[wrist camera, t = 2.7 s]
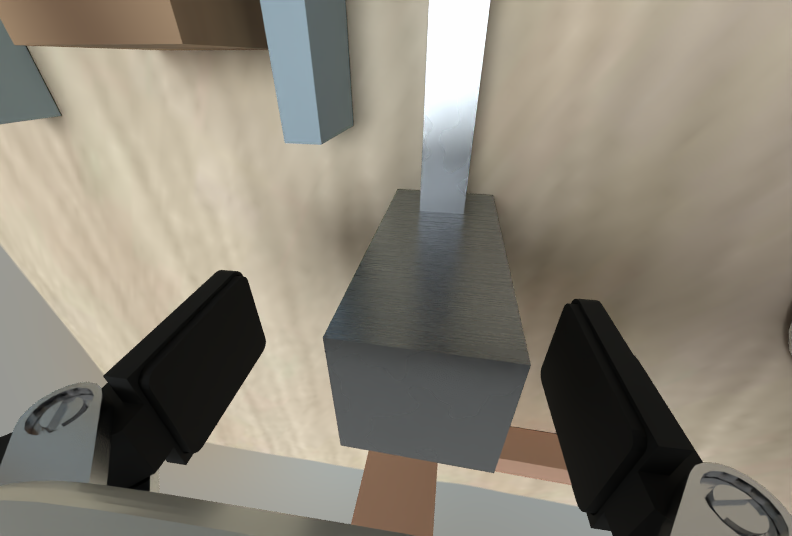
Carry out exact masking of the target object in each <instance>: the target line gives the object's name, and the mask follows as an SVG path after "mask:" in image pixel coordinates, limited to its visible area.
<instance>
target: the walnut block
mask: <svg viewBox="0 0 792 536" xmlns="http://www.w3.org/2000/svg"><path fill="white" fill-rule="evenodd" d="M0 19H1V21H2V23H3V25H4V27H5V28H6V30H7V32H8V34H9V36H10V38H11V40H12V42H13V44H14V45H24V46H54V47H83V48H112V49H142V50H268V44H267V38H266V32H265V27H264V21H263V15H262V10H261V4H260V0H0Z"/></svg>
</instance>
